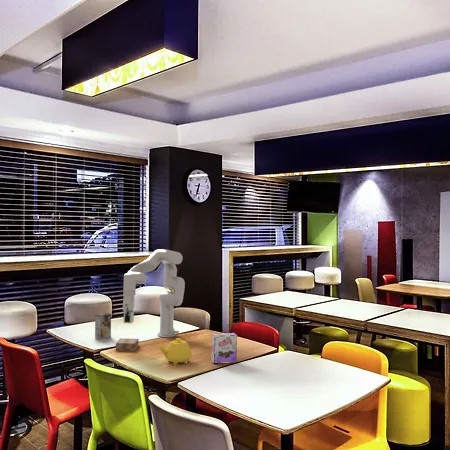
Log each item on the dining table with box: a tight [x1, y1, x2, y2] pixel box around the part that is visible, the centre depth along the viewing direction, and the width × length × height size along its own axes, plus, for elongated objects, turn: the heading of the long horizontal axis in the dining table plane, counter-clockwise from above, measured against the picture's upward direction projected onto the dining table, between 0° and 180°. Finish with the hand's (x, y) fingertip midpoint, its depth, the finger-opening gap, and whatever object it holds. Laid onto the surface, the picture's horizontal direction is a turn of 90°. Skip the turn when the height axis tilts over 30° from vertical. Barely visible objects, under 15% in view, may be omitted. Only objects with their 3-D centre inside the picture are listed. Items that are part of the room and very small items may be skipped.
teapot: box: [158, 337, 193, 365], centre depth 263 cm, size 20×16×14 cm
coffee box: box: [94, 312, 112, 340], centre depth 318 cm, size 9×6×16 cm
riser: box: [115, 337, 139, 352], centre depth 291 cm, size 12×12×5 cm
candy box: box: [210, 332, 238, 363], centre depth 266 cm, size 14×6×16 cm, turn 105°
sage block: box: [123, 310, 135, 324], centre depth 292 cm, size 5×5×7 cm
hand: (128, 320), depth 292 cm, fingers closed on sage block, 5 cm apart
